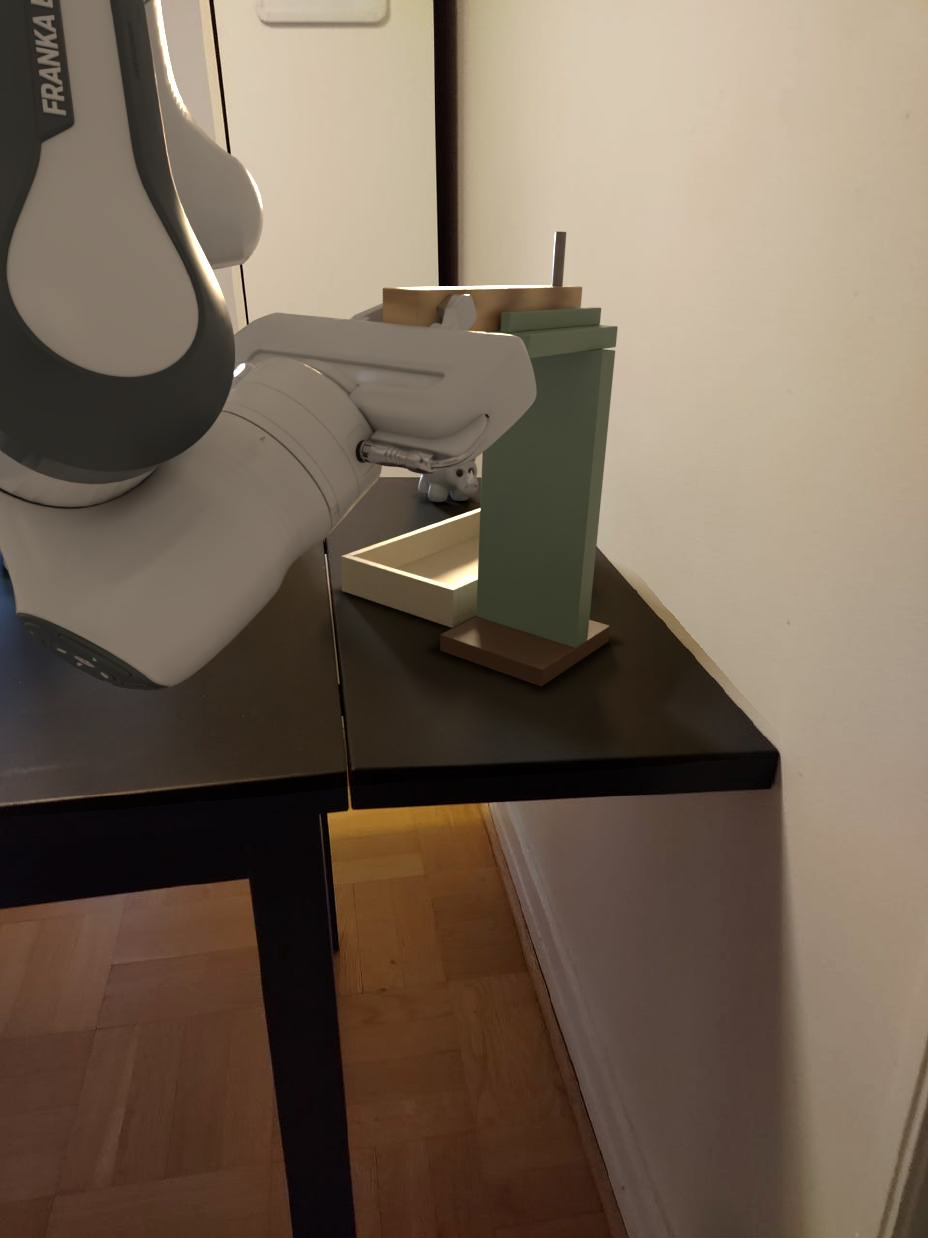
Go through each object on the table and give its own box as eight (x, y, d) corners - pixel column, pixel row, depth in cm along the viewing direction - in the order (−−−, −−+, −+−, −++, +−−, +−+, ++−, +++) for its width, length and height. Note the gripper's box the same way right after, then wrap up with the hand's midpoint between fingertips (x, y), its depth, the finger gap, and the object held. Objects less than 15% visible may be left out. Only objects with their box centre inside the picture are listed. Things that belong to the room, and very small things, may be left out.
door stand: (519, 701, 63) (544, 315, 53) (416, 662, 69) (420, 305, 58) (608, 641, 74) (644, 308, 63) (513, 612, 79) (531, 301, 68)
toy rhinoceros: (442, 518, 107) (444, 450, 103) (411, 493, 117) (412, 431, 113) (495, 513, 109) (498, 447, 106) (460, 490, 119) (462, 429, 116)
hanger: (415, 337, 49) (416, 219, 47) (382, 334, 51) (381, 219, 48) (579, 323, 63) (587, 232, 61) (550, 321, 65) (556, 232, 62)
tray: (452, 628, 75) (453, 590, 74) (341, 590, 83) (340, 556, 81) (583, 561, 93) (586, 530, 91) (483, 536, 100) (484, 506, 99)
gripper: (431, 423, 38) (577, 259, 44) (154, 375, 49) (303, 249, 55) (468, 525, 42) (597, 363, 49) (208, 460, 54) (339, 335, 60)
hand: (438, 302), depth 52 cm, fingers closed on hanger, 2 cm apart
